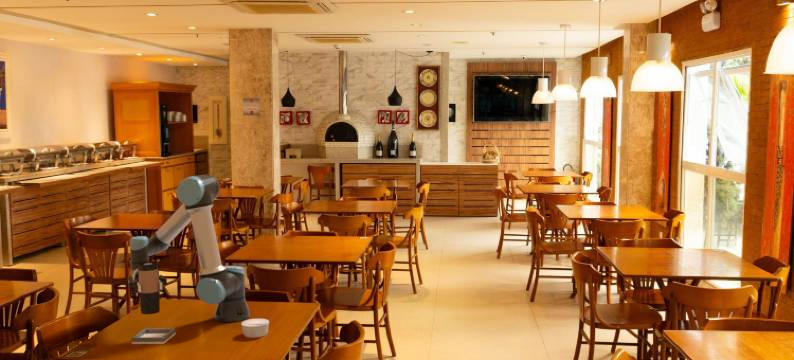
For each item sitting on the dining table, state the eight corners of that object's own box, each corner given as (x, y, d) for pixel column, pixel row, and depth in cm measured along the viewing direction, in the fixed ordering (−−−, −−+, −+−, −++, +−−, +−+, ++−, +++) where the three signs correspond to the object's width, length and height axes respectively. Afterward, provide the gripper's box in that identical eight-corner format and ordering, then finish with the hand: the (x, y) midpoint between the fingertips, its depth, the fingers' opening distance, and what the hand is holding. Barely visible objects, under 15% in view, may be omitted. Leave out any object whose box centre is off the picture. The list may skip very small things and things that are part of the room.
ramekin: (246, 340, 290) (245, 327, 290) (238, 333, 300) (237, 320, 300) (273, 336, 295) (272, 323, 295) (264, 329, 305) (264, 316, 305)
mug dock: (175, 334, 300) (175, 328, 300) (163, 343, 287) (163, 338, 287) (145, 334, 301) (144, 328, 301) (131, 343, 288) (131, 338, 288)
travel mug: (154, 314, 290) (151, 265, 288) (136, 314, 291) (133, 264, 289) (164, 309, 297) (161, 261, 295) (146, 309, 299) (144, 261, 297)
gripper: (168, 282, 314) (177, 293, 293) (118, 288, 305) (124, 300, 285) (167, 265, 313) (176, 275, 293) (117, 270, 304) (122, 281, 284)
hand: (150, 287), depth 289 cm, fingers closed on travel mug, 7 cm apart
